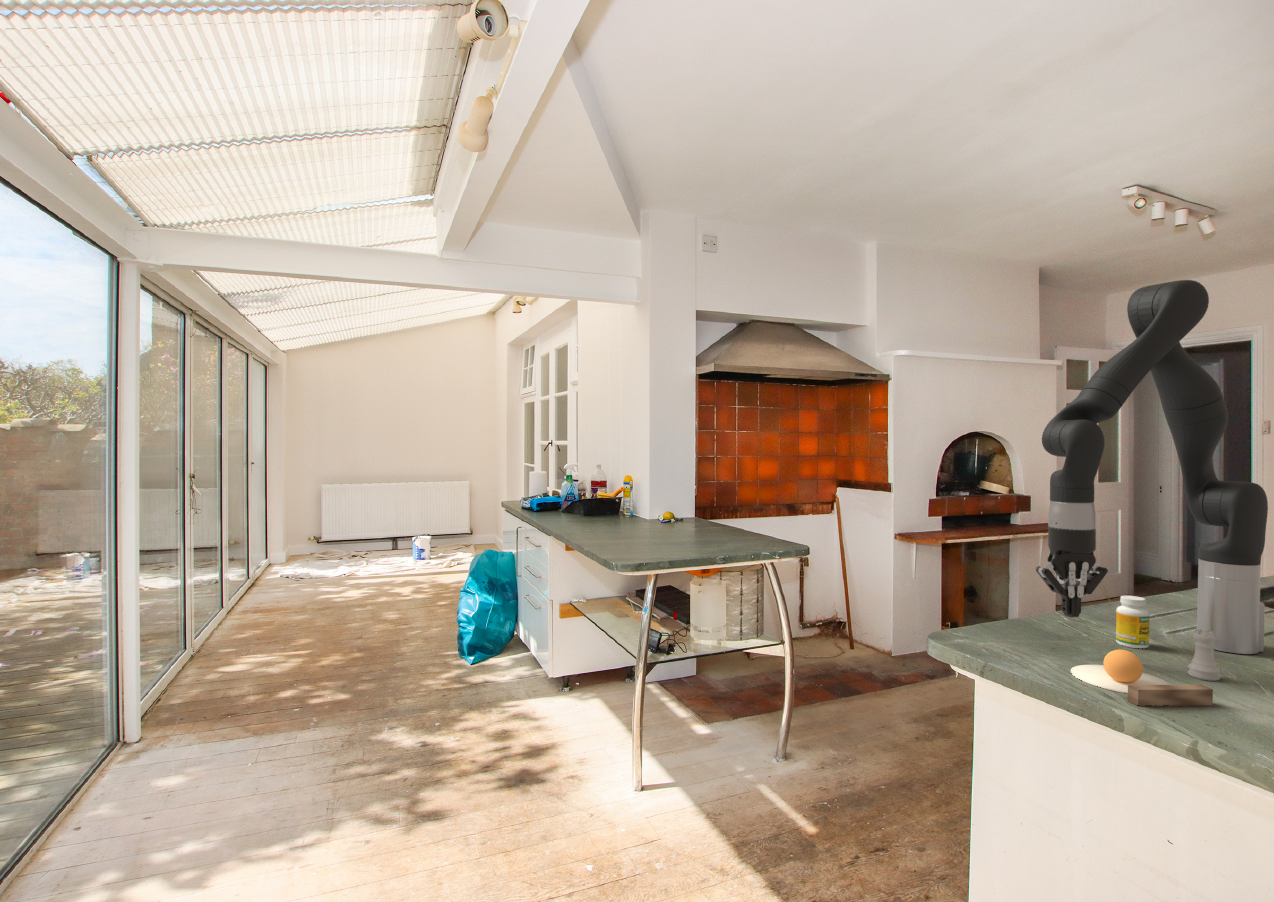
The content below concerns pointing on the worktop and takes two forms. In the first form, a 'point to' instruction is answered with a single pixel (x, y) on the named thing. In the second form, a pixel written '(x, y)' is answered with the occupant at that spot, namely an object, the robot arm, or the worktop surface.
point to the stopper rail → (1170, 695)
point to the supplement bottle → (1132, 622)
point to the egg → (1123, 666)
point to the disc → (1102, 679)
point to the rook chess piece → (1204, 657)
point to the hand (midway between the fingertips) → (1071, 616)
